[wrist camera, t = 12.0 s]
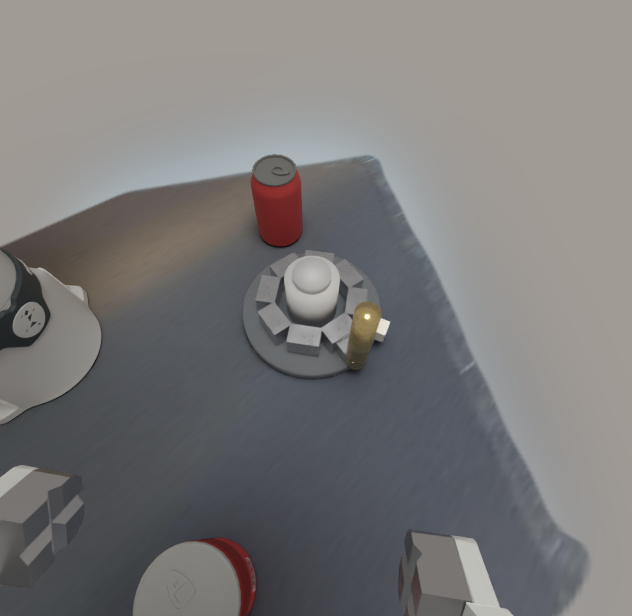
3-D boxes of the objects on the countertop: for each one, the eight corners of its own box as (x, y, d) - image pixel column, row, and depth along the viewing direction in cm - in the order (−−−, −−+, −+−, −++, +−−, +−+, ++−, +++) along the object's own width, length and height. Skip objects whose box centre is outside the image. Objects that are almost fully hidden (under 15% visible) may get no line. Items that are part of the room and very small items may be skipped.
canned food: (210, 521, 40) (178, 520, 31) (273, 568, 39) (261, 583, 29) (159, 599, 37) (106, 625, 28) (226, 655, 35) (194, 704, 26)
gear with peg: (240, 296, 51) (223, 239, 41) (322, 249, 55) (325, 186, 45) (316, 400, 44) (318, 363, 34) (404, 338, 48) (428, 288, 38)
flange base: (225, 361, 49) (207, 326, 40) (267, 250, 58) (259, 201, 49) (375, 395, 47) (389, 366, 38) (394, 275, 56) (410, 229, 47)
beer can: (295, 252, 58) (292, 192, 47) (253, 243, 58) (240, 182, 48) (307, 219, 61) (306, 156, 50) (267, 211, 61) (258, 147, 51)
